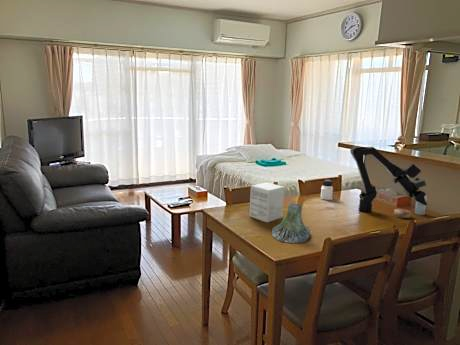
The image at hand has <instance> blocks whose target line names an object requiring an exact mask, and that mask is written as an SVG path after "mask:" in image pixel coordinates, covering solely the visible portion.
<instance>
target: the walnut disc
mask: <svg viewBox="0 0 460 345" xmlns="http://www.w3.org/2000/svg"><path fill="white" fill-rule="evenodd" d="M412 214H413V213H412V210H408V209H403V208H395V209H394V210H393V217H394V218H397V219H402V218H410V219H411V218H412Z"/></svg>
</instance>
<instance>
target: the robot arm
mask: <svg viewBox="0 0 460 345" xmlns="http://www.w3.org/2000/svg"><path fill="white" fill-rule="evenodd" d="M350 155H351V156H352V158H353V159H354V162H355V163H356V166H357V169H358V173H359V175H360V179H361V181H362V182H361V183H362V192H361V193H360V194H359V195H358V196H359V202H358V203H359V204H358V211H359V212H363V213H364V212H365V213H371V212H372V209H373V203H372V202H373V201H374V200H375V199H376V197H377V195H378V191H377V189H376V186H375V185H374V184H373V183H371V181H370V178H369V177H370V176H369V175H368V170H367V168H366V164H365V162H364V159H365V156H369V155H371V156H373V158H375V159H376V161H378V162H379V163H380V164H382V166H384V168H385V169H386V171H387V172H388V174H390V175H391V176H393V181H392V182H393V183H394V184H397V183H398V184H399V185H400V186H401V188H402V189H403V192H404V193H405V194H406V195H407V196H408V197H410V198H412V199H414V200H415V202H416V201H417V202H419V203H422V204H424V205H426V206H427V205H428V203H427V200H426V201H425V199H424V196H425V195H426V196H427V193H426V191H423V190H421V189H420V188H423V187H426V186H427V184H426V181H425V179H424V178H419V177H417V176H418V175H420V174H421V173H422V170H421V169H420V168H419V167H418V166H417V165H415V164H414V163H411V164H409V166H408V167H407V168H405V169H404V168H401V167H399V166H397V165H396V164H394V163H393V162H391V161H390V160H388V159H387V158H386V157H385V156H384V155H383V154H382V153H380V151H378V150H377V148H375V147H373V146H361V147H360V146H358V145H355V146H352V147H351V148H350ZM411 179H414V180H413V181H412V180H411Z"/></svg>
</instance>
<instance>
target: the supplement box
mask: <svg viewBox="0 0 460 345" xmlns="http://www.w3.org/2000/svg"><path fill="white" fill-rule="evenodd" d="M284 195H285V186H282V185H278V184H275V183H271V182H262V183H257V184H253V185H250V196H249V214H248V215H249V217H250V218H254V219H256V220H259V221H261V222H265V223H269V222H273V221H276V220H280V219H282V218H283V214H284V199H285V198H284V197H285V196H284Z"/></svg>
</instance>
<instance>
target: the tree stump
mask: <svg viewBox="0 0 460 345" xmlns="http://www.w3.org/2000/svg"><path fill="white" fill-rule="evenodd" d="M302 209H303V205H302V204H299V203H293V202H289V205H288V209H287V212H286V216H285V218H283V219H282V220H281V222H280V223H279V224H276V225H274V227H272V231H271V235H272V238H274V240H276V241H279V242H282V243H286V244H301V243H305V242H307V241H308V239H309V238H310V236H311V229H310V228H309V226H306V225H305V224H304V222H303V220H302Z"/></svg>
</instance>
